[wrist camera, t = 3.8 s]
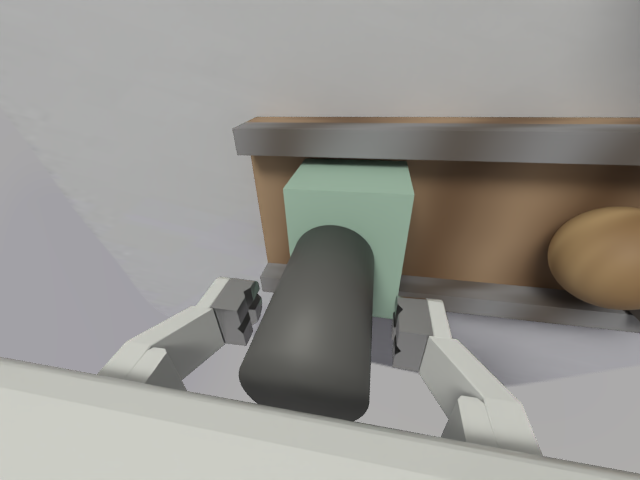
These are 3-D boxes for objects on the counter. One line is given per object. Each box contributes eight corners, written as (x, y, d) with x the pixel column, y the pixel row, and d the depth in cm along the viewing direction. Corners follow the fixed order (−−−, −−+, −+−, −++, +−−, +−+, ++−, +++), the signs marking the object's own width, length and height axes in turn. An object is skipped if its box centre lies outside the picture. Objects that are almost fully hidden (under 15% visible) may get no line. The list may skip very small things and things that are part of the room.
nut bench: (759, 117, 12) (909, 142, 8) (625, 295, 17) (683, 352, 14) (256, 116, 15) (222, 133, 12) (277, 263, 21) (257, 302, 17)
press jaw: (406, 161, 14) (444, 322, 5) (391, 268, 17) (400, 464, 9) (305, 158, 14) (203, 294, 6) (311, 261, 18) (251, 434, 10)
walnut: (663, 192, 12) (779, 248, 9) (610, 270, 15) (685, 339, 11) (551, 187, 13) (616, 237, 10) (518, 262, 16) (560, 325, 12)
